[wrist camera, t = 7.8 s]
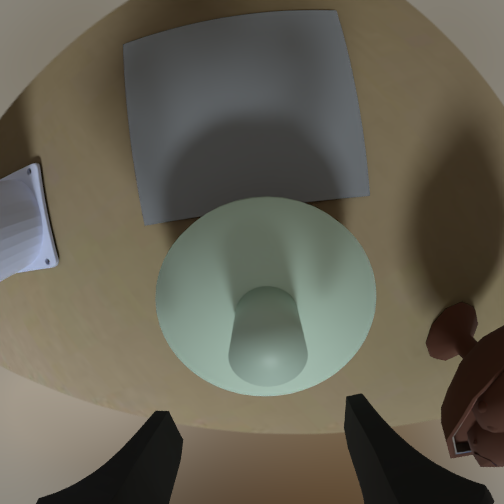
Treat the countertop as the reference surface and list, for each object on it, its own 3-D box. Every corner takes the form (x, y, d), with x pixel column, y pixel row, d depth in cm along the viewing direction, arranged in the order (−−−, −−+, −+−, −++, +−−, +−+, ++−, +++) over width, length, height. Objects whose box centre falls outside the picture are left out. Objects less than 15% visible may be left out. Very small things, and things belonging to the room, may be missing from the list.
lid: (188, 391, 17) (173, 443, 12) (139, 215, 14) (94, 236, 9) (366, 372, 16) (387, 421, 12) (367, 184, 13) (409, 194, 9)
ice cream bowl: (393, 297, 19) (519, 463, 4) (500, 255, 18) (629, 337, 3) (395, 397, 22) (453, 533, 7) (489, 353, 20) (567, 448, 6)
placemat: (145, 224, 18) (144, 225, 18) (124, 45, 14) (122, 44, 14) (368, 195, 17) (369, 195, 17) (335, 11, 13) (336, 10, 13)
